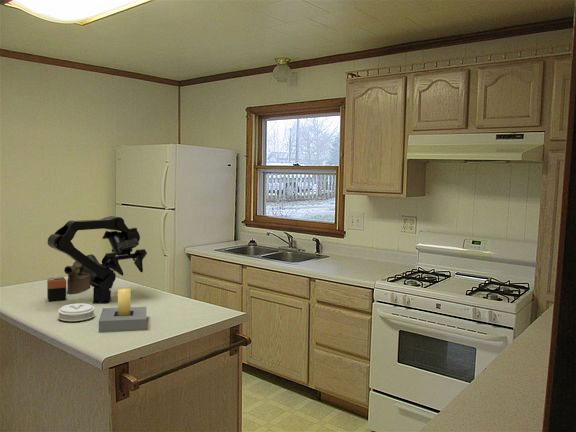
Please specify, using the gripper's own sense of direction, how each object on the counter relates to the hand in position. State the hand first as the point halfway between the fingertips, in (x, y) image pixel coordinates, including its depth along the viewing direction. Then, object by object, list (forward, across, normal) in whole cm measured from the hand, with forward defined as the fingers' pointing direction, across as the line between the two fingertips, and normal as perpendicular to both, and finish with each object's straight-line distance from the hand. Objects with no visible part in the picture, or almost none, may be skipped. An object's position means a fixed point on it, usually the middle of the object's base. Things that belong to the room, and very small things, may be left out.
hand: (132, 273), depth 204 cm
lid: (+10, -25, +9) cm, 28 cm away
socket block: (+23, -16, -4) cm, 29 cm away
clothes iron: (-16, -6, +36) cm, 40 cm away
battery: (-10, -19, +29) cm, 36 cm away
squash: (-24, +6, +44) cm, 51 cm away
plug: (+22, -16, -5) cm, 28 cm away
